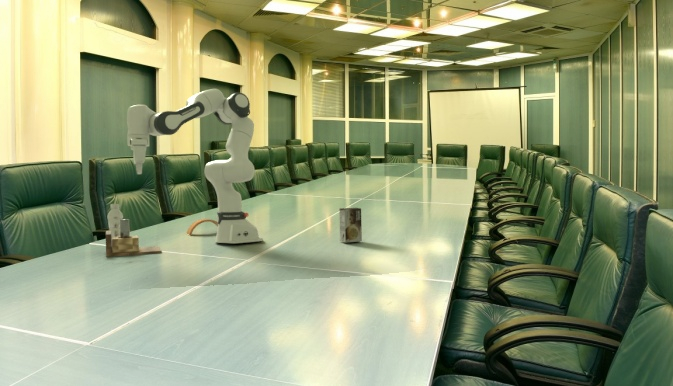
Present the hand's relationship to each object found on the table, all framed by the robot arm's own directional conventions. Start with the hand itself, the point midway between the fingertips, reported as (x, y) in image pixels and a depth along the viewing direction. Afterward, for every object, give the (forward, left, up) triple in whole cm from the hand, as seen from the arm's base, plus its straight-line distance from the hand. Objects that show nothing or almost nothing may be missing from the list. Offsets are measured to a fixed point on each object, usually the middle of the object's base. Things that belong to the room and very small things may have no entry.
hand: (139, 174), depth 212 cm
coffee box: (-94, +15, -33) cm, 101 cm away
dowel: (+6, +4, -31) cm, 32 cm away
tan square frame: (+6, +4, -32) cm, 33 cm away
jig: (+3, +4, -33) cm, 33 cm away
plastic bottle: (+10, -14, -33) cm, 37 cm away
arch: (-34, -34, -34) cm, 58 cm away
